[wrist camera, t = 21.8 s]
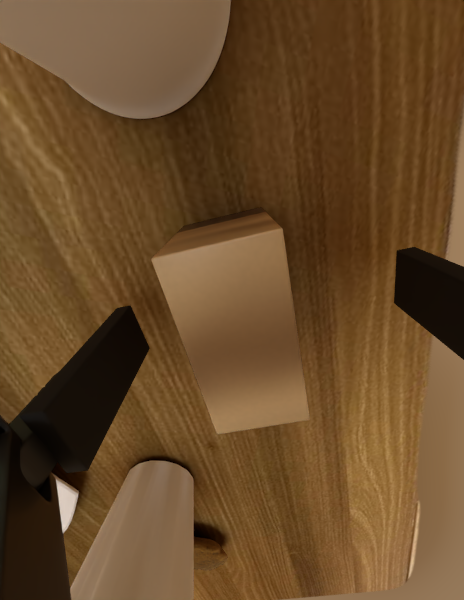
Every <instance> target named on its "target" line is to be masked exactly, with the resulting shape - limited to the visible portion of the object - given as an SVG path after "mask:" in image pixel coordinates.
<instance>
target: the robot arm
mask: <svg viewBox="0 0 464 600" xmlns="http://www.w3.org/2000/svg"><path fill="white" fill-rule="evenodd" d="M394 303H395V304H396V305H397V306H398V307H400V308H401V309H402V310H403V311H404V312H406V313H407V314H408V315H409V316H411V317H412V318H413V319H414V320H415V321H417V322H418V323H419V324H420V325H422V326H423V327H424V328H425V329H426V330H428V331H429V332H430V333H431V334H433V335H434V336H435V337H436V338H438V339H439V340H440V341H441V342H442V343H444V344H445V345H446V346H447V347H449V348H450V349H451V350H452V351H453V352H455V353H456V354H457V355H458V356H460V357H461V358H462V359H463V360H464V267H463V266H460V265H458V264H455V263H453V262H450V261H448V260H445V259H443V258H440V257H438V256H436V255H433V254H431V253H428V252H426V251H423V250H421V249H418V248H416V247H412V248H407V249H402V250H397V257H396V277H395V297H394ZM148 350H149V345H148V343H147V341H146V339H145V337H144V334H143V332H142V330H141V328H140V325H139V323H138V321H137V319H136V317H135V314H134V312H133V310H132V308H131V305H130V306H125V307H120V308H117V309H116V310H115V311H114V312H113V313H112V314H111V315H110V316H109V317H108V319H107V320H106V321H105V322H104V323H103V324H102V325H101V326H100V327H99V328H98V330H97V331H96V332H95V333H94V334H93V335H92V336H91V337H90V338H89V339H88V341H87V342H86V343H85V344H84V345H83V346H82V347H81V348H80V349H79V351H78V352H77V353H76V354H75V355H74V356H73V357H72V358H71V359H70V360H69V362H68V363H67V364H66V365H65V366H64V367H63V368H62V369H61V370H60V371H59V372H58V373H57V374H55V375H54V376H53V377H52V378H51V380H50V381H49V382H48V383H47V384H46V385H45V387H43V388H42V389H41V390H40V392H39V393H38V395H37V396H35V397H34V398H33V399H32V400H31V401H30V402H29V404H28V405H27V406H26V407H25V408H24V409H23V410H22V411H21V412H20V413H19V415H18V416H17V417H16V418H15V419H14V420H13V421H12V422H11V423H10V424H8V423H7V422H6V421H5V420H4V419H3V418H2V417H1V415H0V600H71V593H70V585H69V577H68V569H67V562H66V554H65V546H64V538H63V530H62V522H61V514H60V506H59V499H58V491H57V483H56V479H55V477H54V476H53V474H52V473H51V472H52V470H53V468H54V467H55V465H56V464H57V462H58V463H59V464H60V466H61V467H62V468H63V469H64V470H65V472H66V473H71V472H79V471H87V470H88V469H89V467H90V465H91V463H92V461H93V459H94V457H95V455H96V453H97V451H98V449H99V447H100V445H101V443H102V441H103V439H104V437H105V435H106V433H107V431H108V429H109V427H110V425H111V423H112V422H113V420H114V418H115V416H116V414H117V412H118V410H119V408H120V406H121V404H122V402H123V400H124V398H125V396H126V394H127V392H128V390H129V388H130V386H131V384H132V382H133V380H134V378H135V376H136V374H137V372H138V370H139V368H140V366H141V364H142V362H143V360H144V358H145V356H146V354H147V352H148Z"/></svg>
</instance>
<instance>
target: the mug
mask: <svg viewBox="0 0 464 600" xmlns="http://www.w3.org/2000/svg"><path fill="white" fill-rule="evenodd" d="M230 5H231V0H0V43H2V44H4V45H5V46H7V47H9V48H10V49H12V50H14V51H15V52H17V53H19V54H20V55H22V56H24V57H26V58H27V59H29V60H31V61H32V62H34V63H36V64H37V65H39V66H41V67H43V68H44V69H46V70H48V71H49V72H51V73H53V74H54V75H56V76H58V77H59V78H61V79H63V80H64V81H66V82H67V83H68V84H69V85H70V86H71V87H72V88H73V89H74V90H75V91H76V92H77V93H79V94H80V95H81V96H82V97H84V98H85V99H86V100H88V101H89V102H91V103H92V104H94V105H96V106H97V107H99V108H101V109H103V110H105V111H107V112H110V113H112V114H115V115H119V116H122V117H127V118H134V119H148V118H155V117H160V116H163V115H166V114H169V113H171V112H173V111H175V110H177V109H179V108H180V107H182V106H183V105H185V104H186V103H187V102H188V101H190V100H191V99H192V98H193V97H194V96H195V95H196V94H197V93H198V92H199V91H200V89H201V88H202V87H203V86H204V84H205V83H206V81H207V80H208V78H209V77H210V75H211V73H212V72H213V70H214V68H215V66H216V64H217V61H218V59H219V56H220V54H221V51H222V48H223V45H224V41H225V37H226V33H227V28H228V23H229V16H230Z"/></svg>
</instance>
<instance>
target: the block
mask: <svg viewBox="0 0 464 600" xmlns="http://www.w3.org/2000/svg"><path fill="white" fill-rule="evenodd" d="M151 260H152V263H153V266H154V268H155V271H156V274H157V276H158V279H159V282H160V284H161V287H162V289H163V292H164V295H165V297H166V300H167V303H168V305H169V308H170V311H171V313H172V316H173V319H174V321H175V324H176V327H177V329H178V332H179V335H180V337H181V340H182V343H183V345H184V348H185V350H186V353H187V356H188V358H189V361H190V364H191V366H192V369H193V372H194V374H195V377H196V380H197V382H198V385H199V388H200V390H201V393H202V396H203V398H204V401H205V404H206V406H207V409H208V411H209V414H210V417H211V419H212V422H213V425H214V427H215V430H216V433H217V434H223V433H229V432H236V431H242V430H248V429H255V428H261V427H267V426H273V425H280V424H286V423H292V422H299V421H305V420H309V419H310V416H309V409H308V402H307V395H306V388H305V381H304V374H303V367H302V360H301V353H300V346H299V339H298V332H297V325H296V318H295V311H294V304H293V297H292V290H291V283H290V276H289V269H288V262H287V255H286V248H285V241H284V234H283V229H282V228H281V227H280V226H279V225H278V224H277V223H276V222H275V221H274V220H273V219H272V218H271V217H270V216H269V215H268V214H267V213H266V211H265V210H263V209H262V208H261V207H260V208H256V209H252V210H248V211H244V212H239V213H235V214H231V215H227V216H223V217H219V218H215V219H210V220H206V221H202V222H198V223H194V224H190V225H186V226H183V227H182V228H181V229H180V230H179V231H178V232H177V233H176V234H175V235H174V236H173V237H172V238H171V239H170V240H169V241H168V242H167V243H166V244H165V245H164V246H163V247H162V248H161V249H160V250H159V251H158V252H157V253H156V254H155V255H154V256H153V257H152V258H151Z"/></svg>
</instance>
